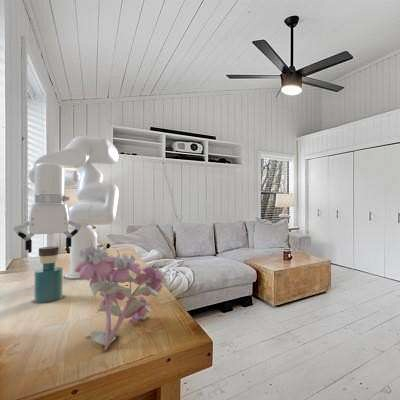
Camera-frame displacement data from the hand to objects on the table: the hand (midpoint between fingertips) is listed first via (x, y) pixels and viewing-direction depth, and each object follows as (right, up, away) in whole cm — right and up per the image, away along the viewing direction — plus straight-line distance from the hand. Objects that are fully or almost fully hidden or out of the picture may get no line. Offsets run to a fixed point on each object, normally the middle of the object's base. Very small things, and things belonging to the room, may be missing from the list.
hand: (49, 250), depth 99 cm
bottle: (0, -16, 0) cm, 16 cm away
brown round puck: (0, -1, 0) cm, 1 cm away
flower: (+38, -17, -21) cm, 47 cm away
